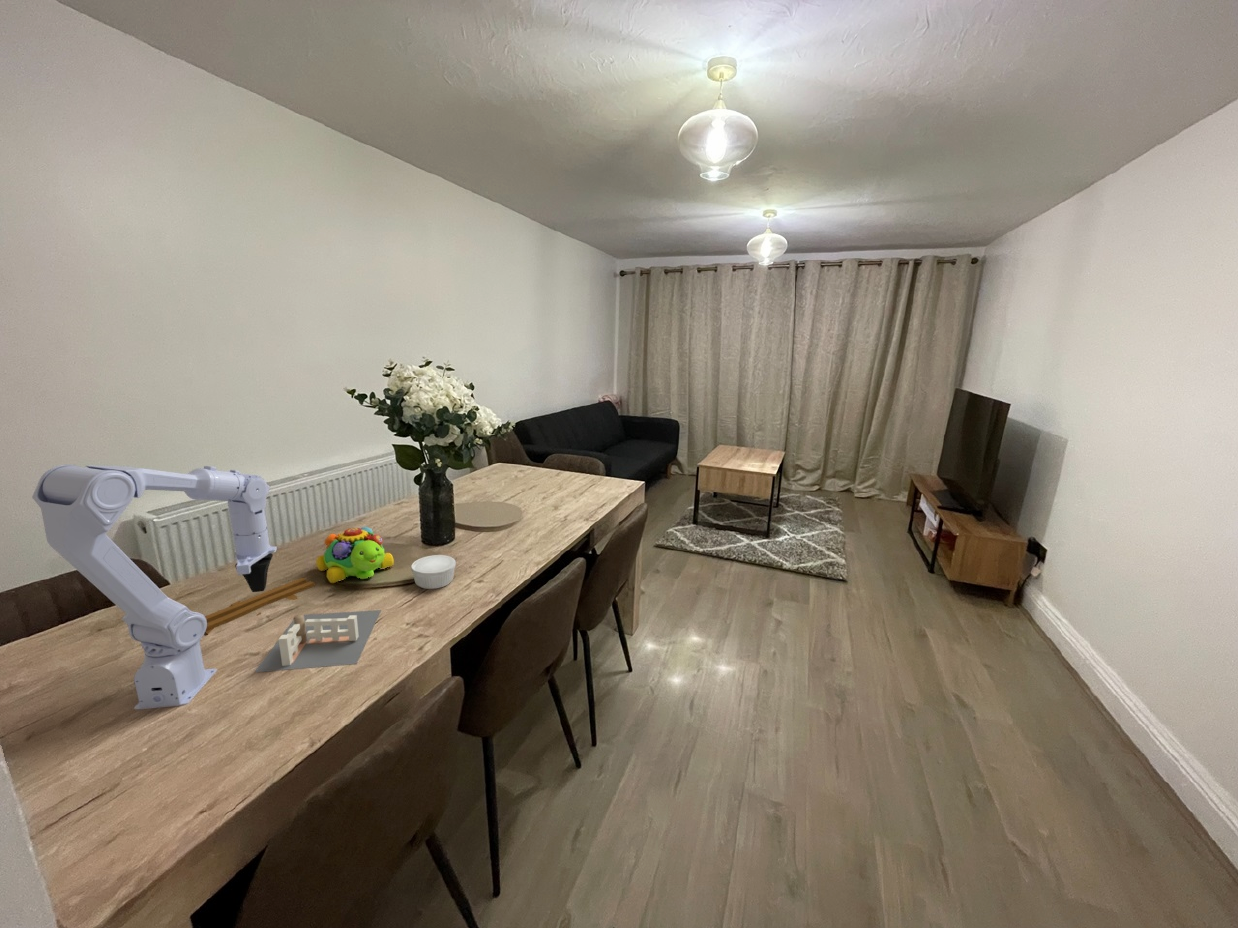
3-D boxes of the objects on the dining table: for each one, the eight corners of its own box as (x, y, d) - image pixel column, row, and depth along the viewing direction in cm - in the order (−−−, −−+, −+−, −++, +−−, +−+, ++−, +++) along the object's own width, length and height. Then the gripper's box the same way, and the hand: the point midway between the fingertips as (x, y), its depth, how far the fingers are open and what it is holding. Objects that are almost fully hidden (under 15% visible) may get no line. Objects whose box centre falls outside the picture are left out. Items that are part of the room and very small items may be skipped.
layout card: (356, 665, 98) (356, 663, 98) (254, 674, 94) (254, 671, 94) (381, 611, 117) (381, 609, 117) (297, 616, 113) (296, 614, 113)
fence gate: (306, 642, 103) (304, 620, 102) (310, 638, 104) (307, 616, 103) (356, 640, 105) (354, 618, 103) (358, 636, 106) (356, 615, 105)
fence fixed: (291, 665, 97) (287, 638, 95) (281, 665, 96) (277, 639, 95) (308, 639, 105) (305, 614, 103) (299, 639, 104) (295, 614, 103)
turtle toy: (340, 599, 121) (336, 555, 118) (312, 566, 137) (307, 527, 134) (408, 578, 133) (406, 538, 130) (375, 550, 149) (372, 513, 146)
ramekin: (413, 573, 136) (412, 556, 134) (456, 569, 139) (455, 552, 138) (410, 594, 125) (409, 575, 124) (456, 589, 129) (455, 570, 128)
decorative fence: (180, 628, 108) (203, 643, 103) (178, 620, 107) (202, 634, 103) (297, 581, 129) (321, 592, 125) (296, 574, 129) (320, 585, 125)
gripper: (263, 542, 96) (272, 604, 99) (281, 516, 108) (288, 572, 112) (219, 546, 93) (229, 610, 96) (242, 519, 106) (251, 576, 109)
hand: (258, 590), depth 104 cm, fingers closed
